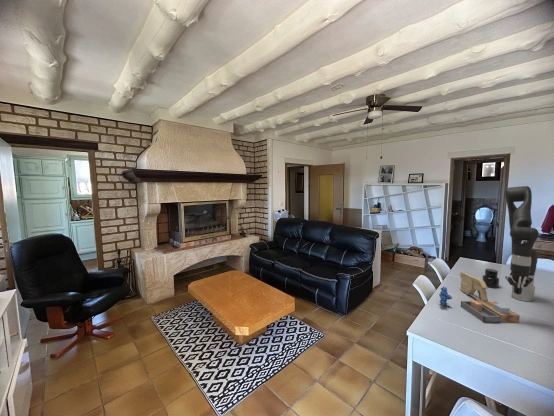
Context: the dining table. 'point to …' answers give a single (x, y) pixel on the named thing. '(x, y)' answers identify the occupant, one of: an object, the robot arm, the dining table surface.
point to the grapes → (444, 296)
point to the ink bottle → (491, 278)
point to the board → (504, 317)
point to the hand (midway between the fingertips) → (517, 293)
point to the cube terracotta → (476, 306)
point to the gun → (473, 286)
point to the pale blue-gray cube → (501, 308)
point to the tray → (481, 313)
